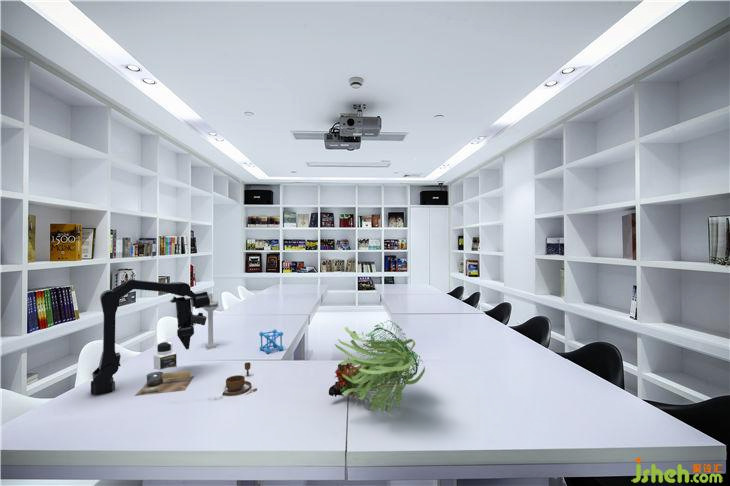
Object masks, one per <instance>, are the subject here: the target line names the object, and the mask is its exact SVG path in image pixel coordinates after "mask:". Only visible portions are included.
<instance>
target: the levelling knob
mask: <svg viewBox="0 0 730 486" xmlns="http://www.w3.org/2000/svg"><path fill="white" fill-rule="evenodd" d="M182 377H192V370H184V371H174V372H173V371H171V372H163V371H153V372H150V373H148V374H146V384H147V386H155V385H159V384H161V383H163V379H172V378H182Z"/></svg>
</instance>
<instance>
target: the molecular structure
mask: <svg viewBox="0 0 730 486" xmlns="http://www.w3.org/2000/svg"><path fill="white" fill-rule="evenodd" d="M258 335H259V336H260V346H259V350H260V351H264V352H265V354H270V352H274V351H283V350H284V346H283V339H282V338H283V335H284V332H283V331H280V332H279V331H277V329H273V330H272V331H266V332H263V331H260V332H259V334H258ZM263 337H264V338H265V339H266V344H263ZM279 337H280V345H278V344H277V343H276V341H277V340H276V339H277V338H279ZM272 347H273V349H270V348H272Z"/></svg>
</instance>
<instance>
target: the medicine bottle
mask: <svg viewBox="0 0 730 486" xmlns="http://www.w3.org/2000/svg"><path fill="white" fill-rule="evenodd" d="M177 362H178V361H177V352H175V351H173V342H170V341H164V342H161V343H158V344H157V353H154V354H153V369H156V370H157V369H158V370H164V369H168V368H176V367H177Z"/></svg>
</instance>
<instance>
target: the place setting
mask: <svg viewBox="0 0 730 486" xmlns="http://www.w3.org/2000/svg"><path fill="white" fill-rule="evenodd" d="M251 364H252V363H251V362H244V370H245V371H246V373H245V374H246V377H249V376H250V375H249V374H250V371H249V370H250V369H251V366H252V365H251ZM246 377H245V375H238V374H237V375H232V376H229V377H227V378H226V379H225V387H224V388H226V389H227V390H229V391H230V392H225V391H223V392H222V395H223V396H226V397H228V396H230V397H231V396H238V395H242V394H245V393H246V392H247V393H246V394H245V396H247V395H249V394H251V393H255V392H256V391H257V390H258V388H257V387H256V388H253V389H251V388H252V382H251V381H248V380H245V379H246ZM245 385H246V386H248V387H247V388H245V389H242V388H244V386H245ZM241 389H242V390H241ZM249 390H250V391H249ZM248 391H249V392H248Z"/></svg>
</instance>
